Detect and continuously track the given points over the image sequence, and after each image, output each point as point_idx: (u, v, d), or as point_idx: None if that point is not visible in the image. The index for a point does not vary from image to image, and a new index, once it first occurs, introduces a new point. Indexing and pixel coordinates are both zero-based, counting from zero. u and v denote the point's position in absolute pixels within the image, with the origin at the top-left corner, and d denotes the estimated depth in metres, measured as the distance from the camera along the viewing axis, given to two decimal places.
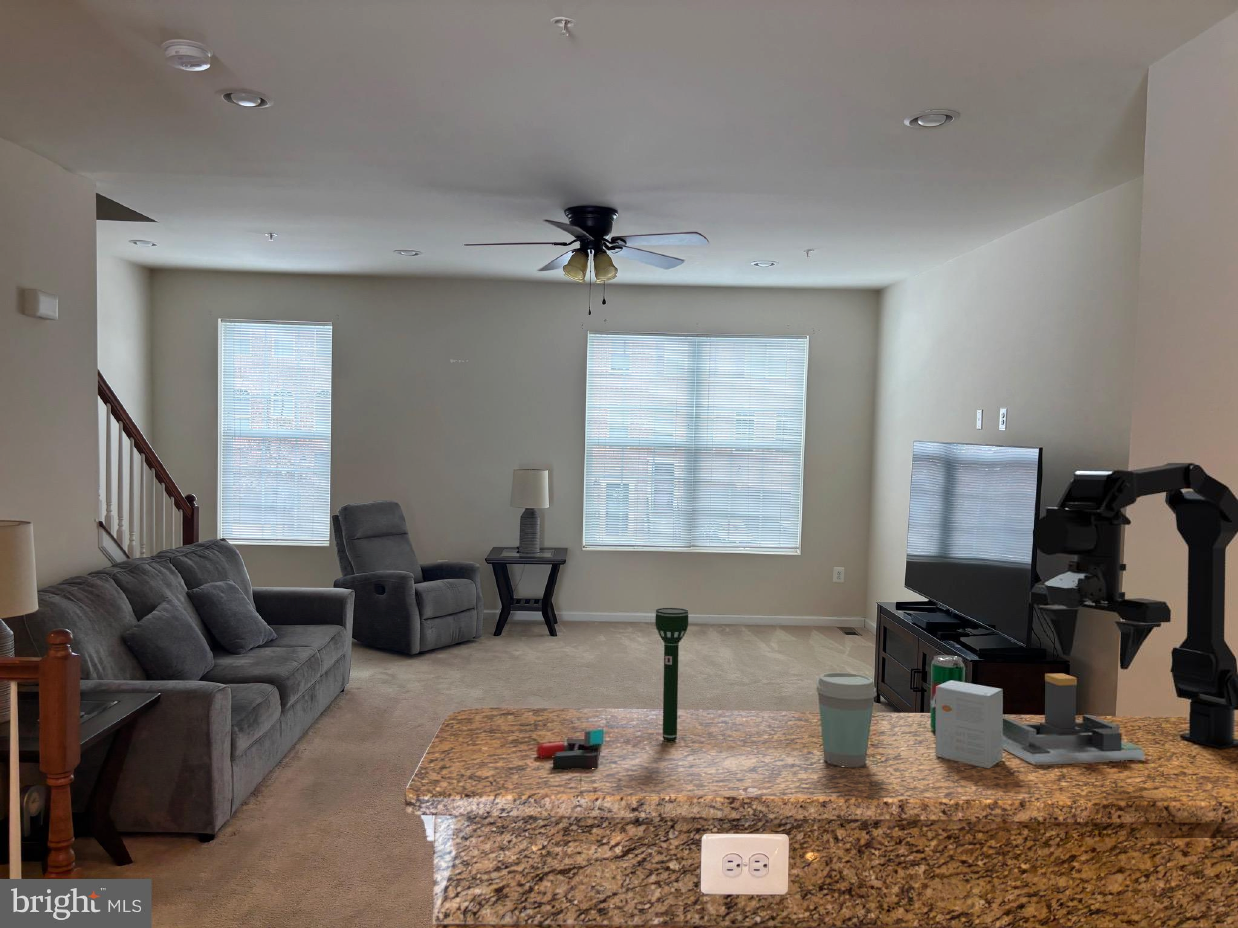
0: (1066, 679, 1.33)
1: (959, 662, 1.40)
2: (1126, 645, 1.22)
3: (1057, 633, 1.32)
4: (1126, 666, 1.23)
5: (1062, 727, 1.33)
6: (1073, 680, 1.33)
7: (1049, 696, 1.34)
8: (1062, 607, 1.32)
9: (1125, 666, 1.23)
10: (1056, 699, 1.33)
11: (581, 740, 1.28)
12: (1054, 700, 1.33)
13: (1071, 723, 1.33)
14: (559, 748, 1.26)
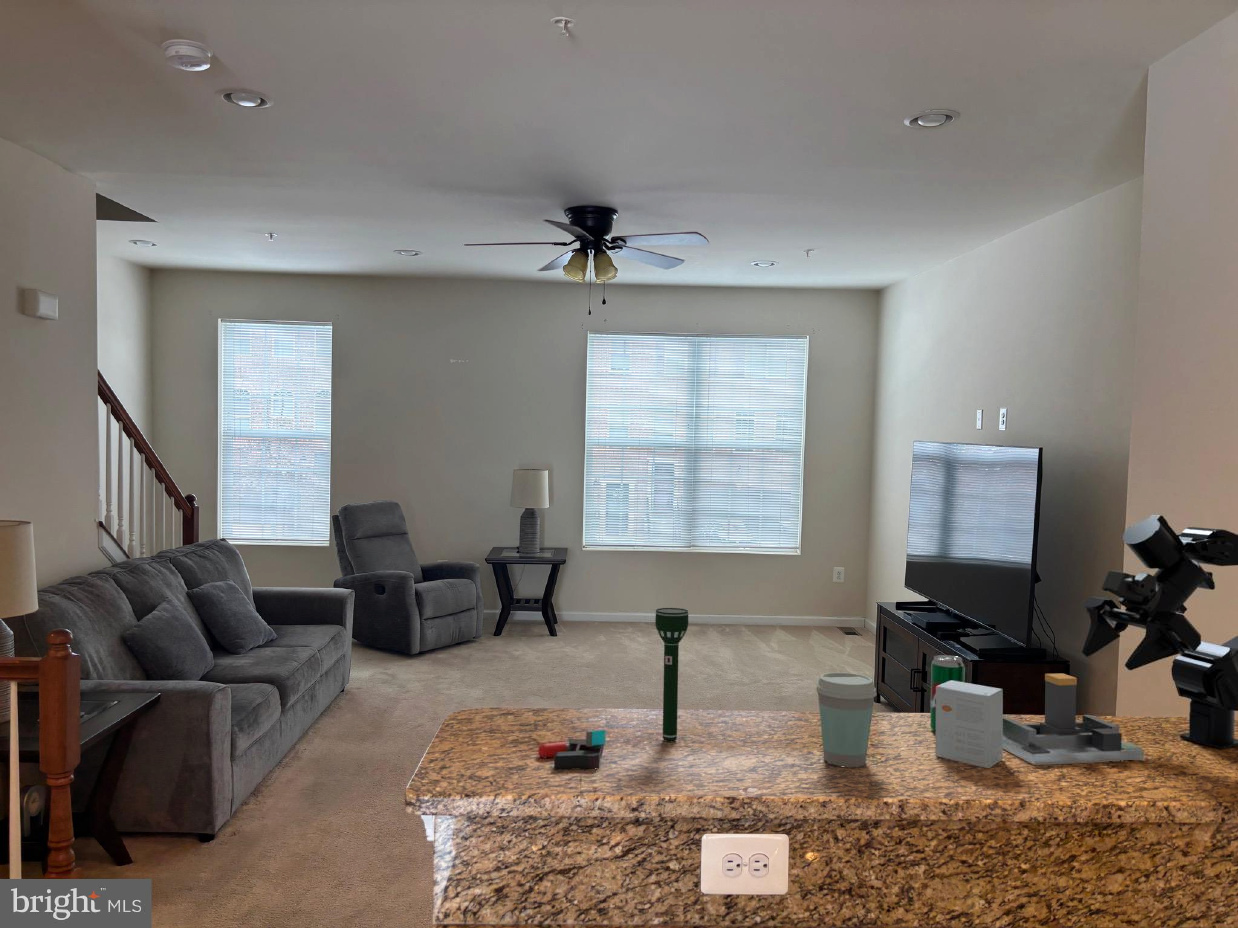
0: (1066, 679, 1.33)
1: (959, 662, 1.40)
2: (1143, 646, 1.30)
3: (1089, 634, 1.41)
4: (1130, 666, 1.31)
5: (1062, 727, 1.33)
6: (1073, 680, 1.33)
7: (1049, 696, 1.34)
8: (1108, 621, 1.42)
9: (1130, 665, 1.31)
10: (1056, 699, 1.33)
11: (583, 740, 1.28)
12: (1054, 700, 1.33)
13: (1071, 723, 1.33)
14: (561, 748, 1.26)
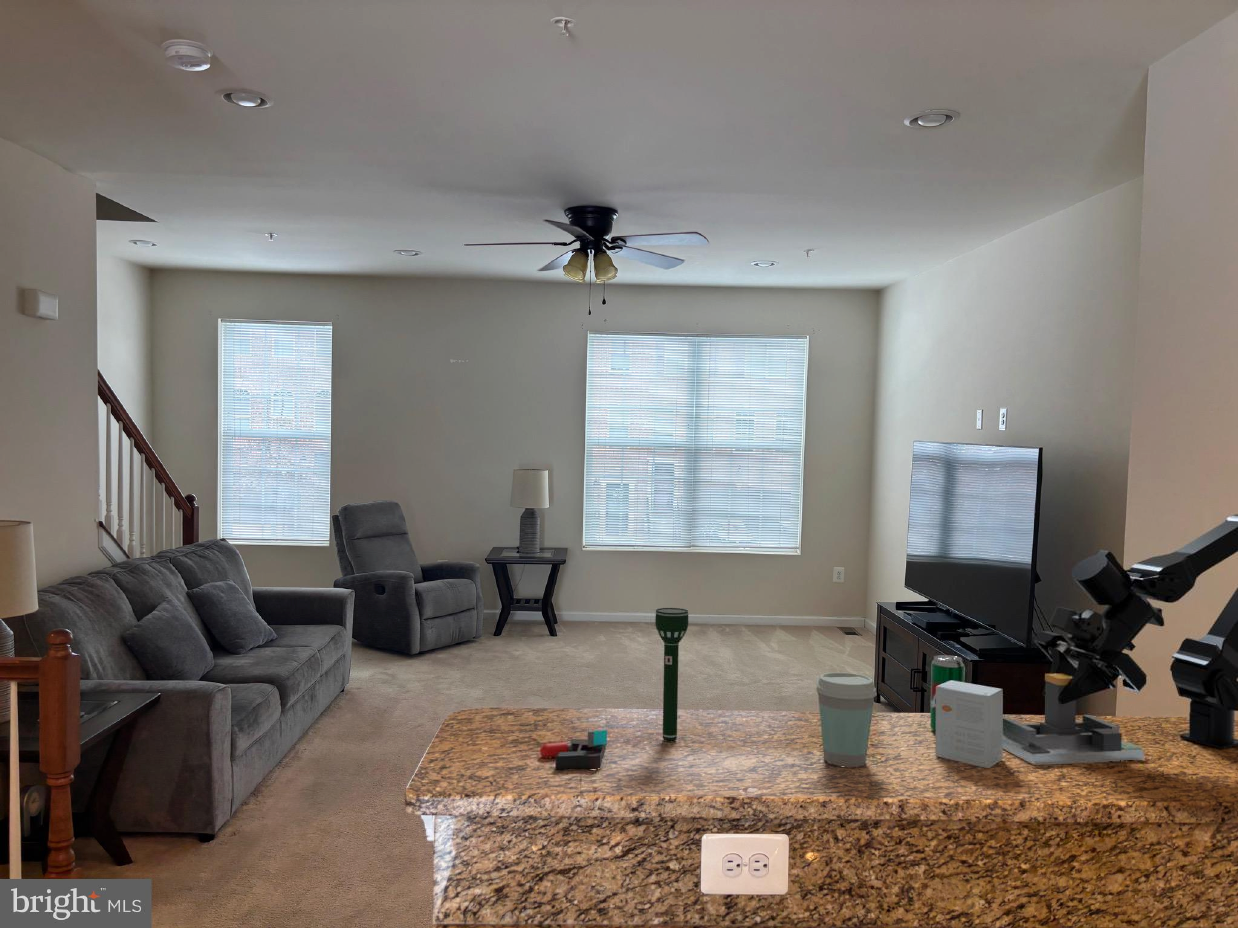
0: (1066, 679, 1.33)
1: (959, 662, 1.40)
2: (1074, 681, 1.32)
3: None
4: (1063, 700, 1.32)
5: (1062, 727, 1.33)
6: None
7: (1049, 696, 1.34)
8: (1070, 661, 1.37)
9: (1062, 699, 1.32)
10: (1056, 699, 1.33)
11: (585, 740, 1.28)
12: (1054, 700, 1.33)
13: (1071, 723, 1.33)
14: (563, 749, 1.26)
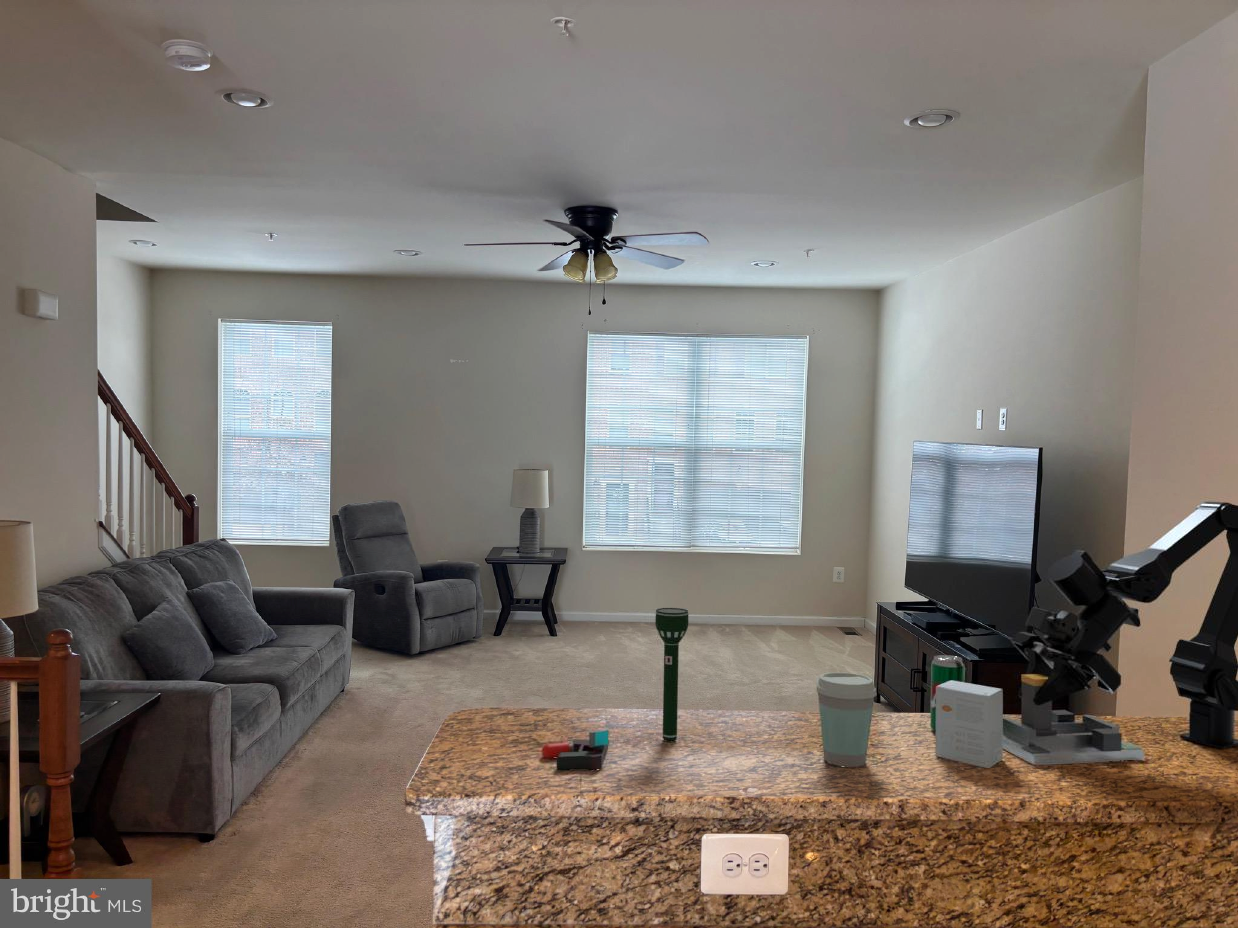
0: (1042, 680, 1.32)
1: (959, 662, 1.40)
2: (1050, 682, 1.31)
3: None
4: (1038, 701, 1.31)
5: (1038, 728, 1.32)
6: None
7: (1025, 697, 1.34)
8: (1046, 662, 1.37)
9: (1037, 700, 1.31)
10: (1032, 700, 1.32)
11: (587, 740, 1.27)
12: (1030, 701, 1.33)
13: (1047, 724, 1.32)
14: (564, 749, 1.26)
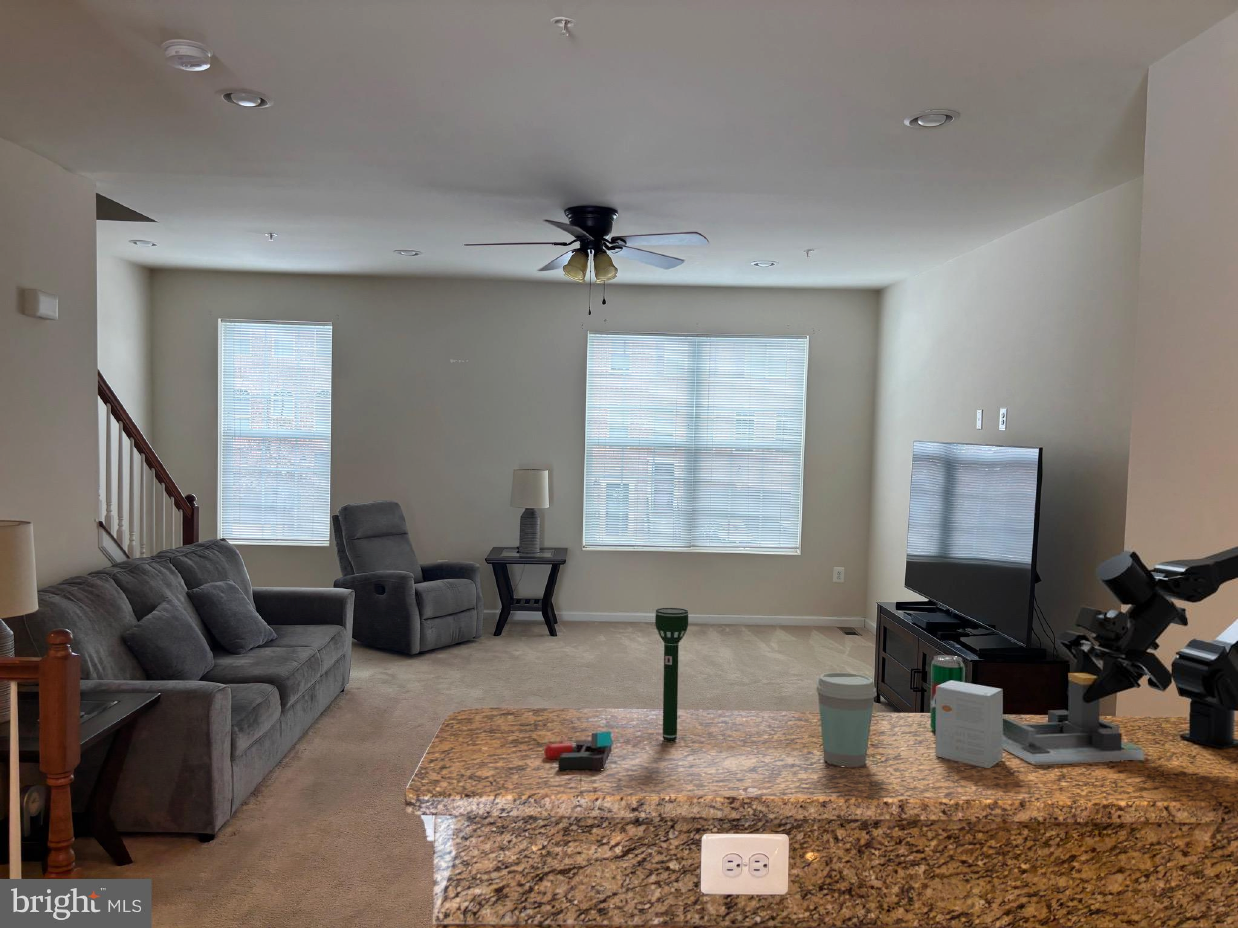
0: (1090, 678, 1.33)
1: (959, 662, 1.40)
2: (1099, 680, 1.32)
3: None
4: (1088, 699, 1.33)
5: (1086, 726, 1.33)
6: None
7: (1072, 695, 1.35)
8: (1094, 660, 1.38)
9: (1087, 698, 1.33)
10: (1080, 698, 1.34)
11: (590, 741, 1.27)
12: (1077, 700, 1.34)
13: (1095, 722, 1.34)
14: (567, 749, 1.25)
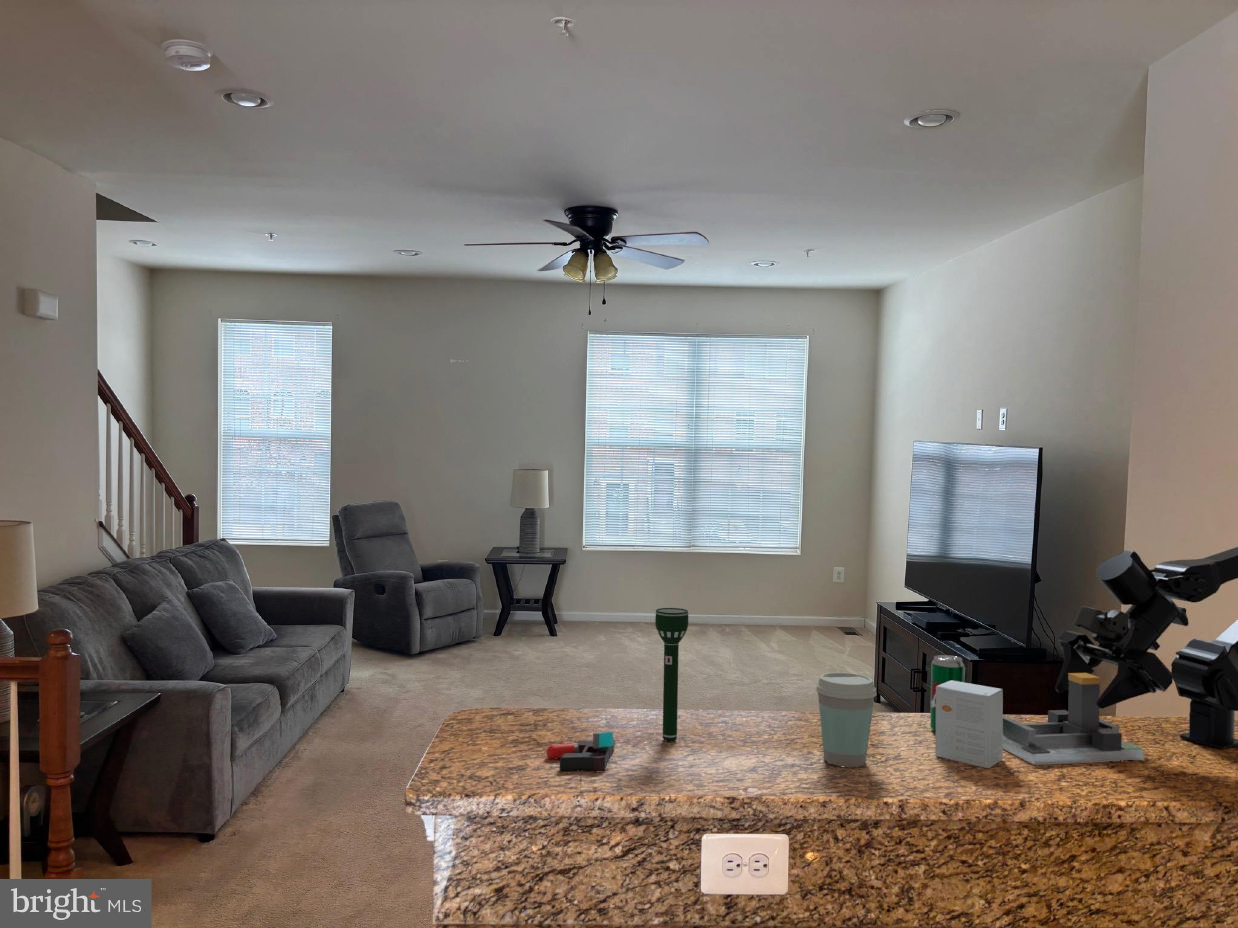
0: (1090, 678, 1.33)
1: (959, 662, 1.40)
2: (1114, 685, 1.29)
3: (1062, 669, 1.40)
4: (1102, 704, 1.30)
5: (1086, 726, 1.33)
6: (1097, 679, 1.34)
7: (1072, 695, 1.35)
8: (1081, 656, 1.41)
9: (1101, 703, 1.30)
10: (1079, 698, 1.34)
11: (592, 742, 1.27)
12: (1077, 700, 1.34)
13: (1095, 722, 1.34)
14: (569, 750, 1.25)
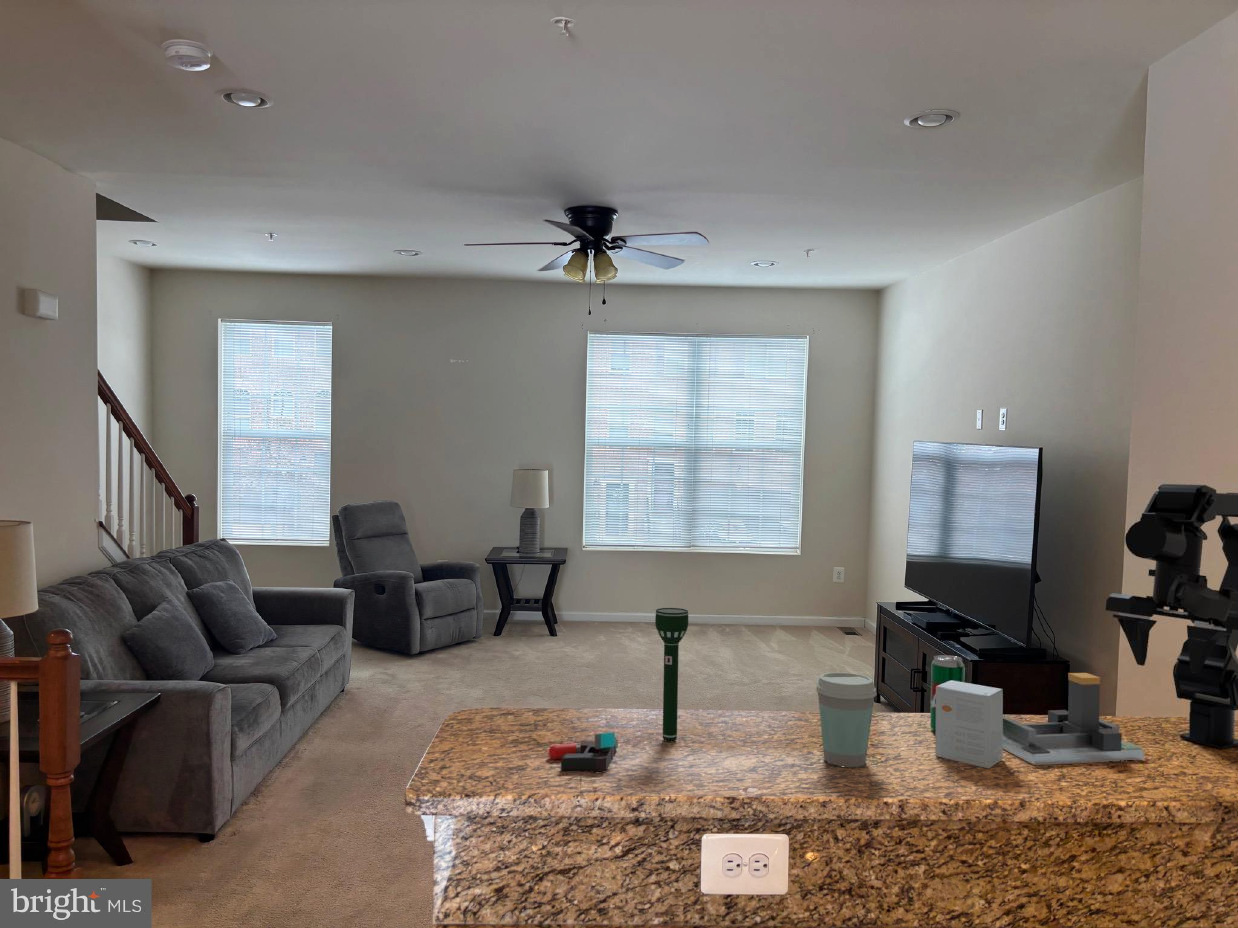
0: (1090, 678, 1.33)
1: (959, 662, 1.40)
2: (1209, 651, 1.31)
3: (1143, 643, 1.30)
4: None
5: (1086, 726, 1.33)
6: (1097, 679, 1.34)
7: (1072, 695, 1.35)
8: None
9: None
10: (1079, 698, 1.34)
11: (594, 742, 1.27)
12: (1077, 700, 1.34)
13: (1095, 722, 1.34)
14: (571, 750, 1.25)
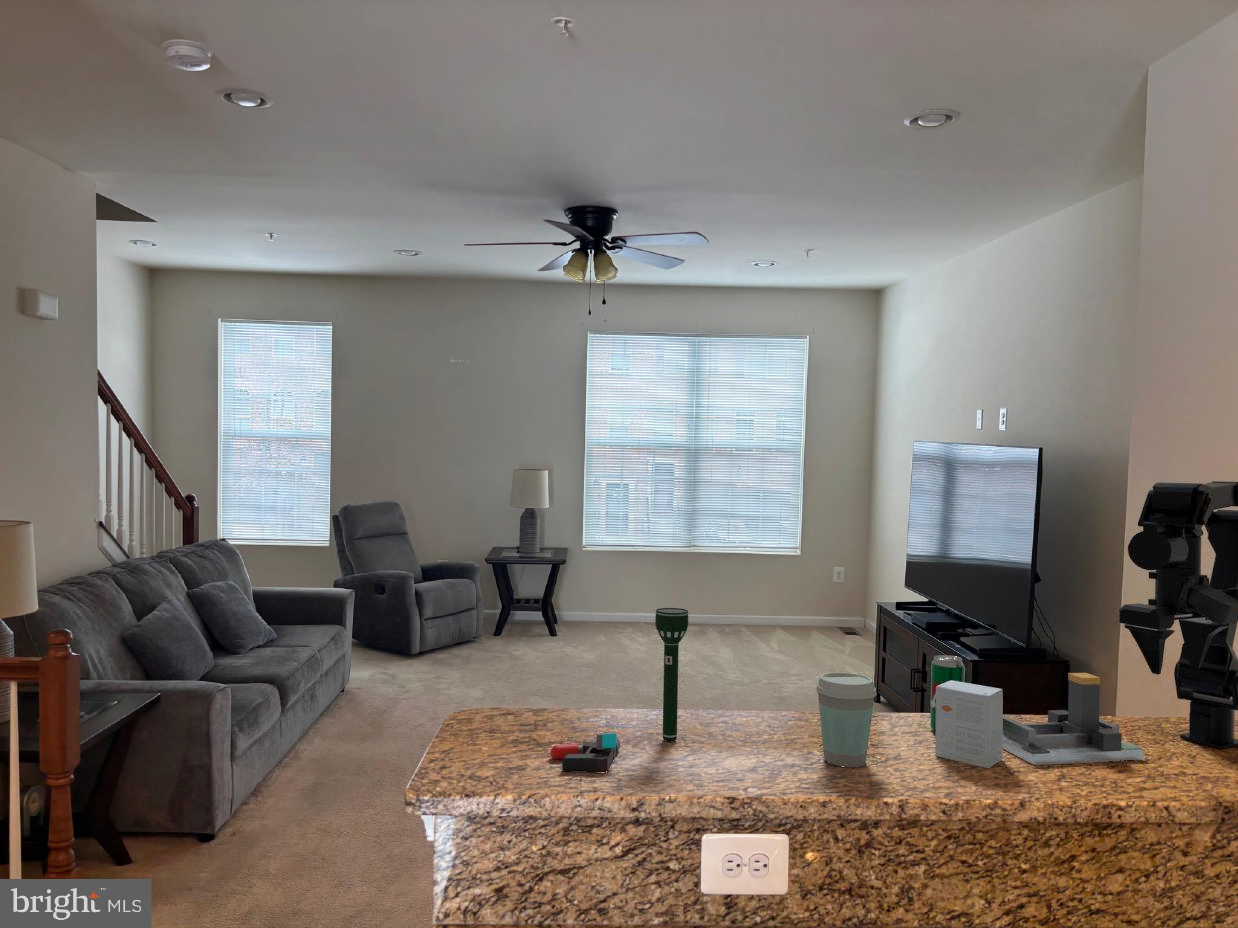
0: (1090, 678, 1.33)
1: (959, 662, 1.40)
2: (1208, 646, 1.32)
3: (1160, 653, 1.27)
4: None
5: (1086, 726, 1.33)
6: (1097, 679, 1.34)
7: (1072, 695, 1.35)
8: None
9: None
10: (1079, 698, 1.34)
11: None
12: (1077, 700, 1.34)
13: (1095, 722, 1.34)
14: (573, 751, 1.25)
